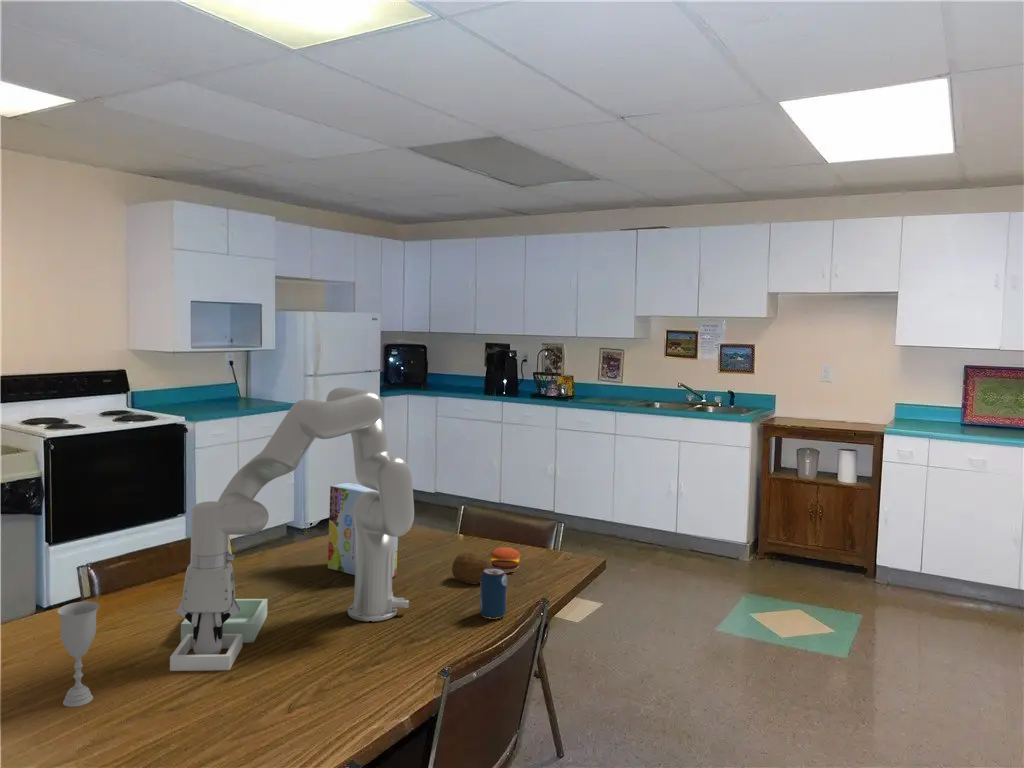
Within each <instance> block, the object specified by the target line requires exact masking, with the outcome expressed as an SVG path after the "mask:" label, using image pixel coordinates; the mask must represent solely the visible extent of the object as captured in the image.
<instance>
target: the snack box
mask: <svg viewBox="0 0 1024 768" xmlns="http://www.w3.org/2000/svg"><path fill="white" fill-rule="evenodd" d="M329 488H330V489H329V492H330V493H329V494H330V495H329V517H328V519H329V520H328V548H327V549H328V551H327V553H328V554H327V555H328V556H327V569H329V570H334V571H338V572H341V573H345V574H350V575H353V576H355V560H356V531H355V524H354V517H353V509H354V505H355V502H356V500H357V499H358V498H359V496H361V495H362V494H363V493H366V492H369V491H376V490H373V489H370V488H367V487H364V486H362V485H361V484H357V483H351V482H345V483H338V484H331V485H330V487H329ZM378 492H379V491H378ZM392 538H393V572H392V578H394V577H397V572H398V571H397V570H398V568H397V567H398V565H397V564H398V543H399V542H398V541H399V537H392Z"/></svg>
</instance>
